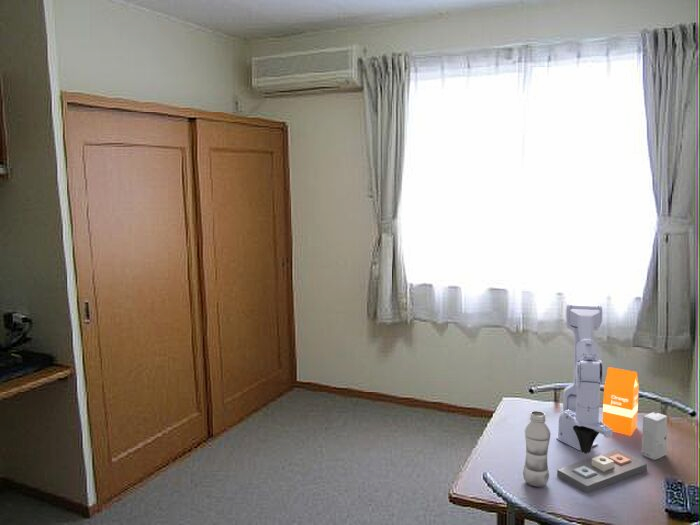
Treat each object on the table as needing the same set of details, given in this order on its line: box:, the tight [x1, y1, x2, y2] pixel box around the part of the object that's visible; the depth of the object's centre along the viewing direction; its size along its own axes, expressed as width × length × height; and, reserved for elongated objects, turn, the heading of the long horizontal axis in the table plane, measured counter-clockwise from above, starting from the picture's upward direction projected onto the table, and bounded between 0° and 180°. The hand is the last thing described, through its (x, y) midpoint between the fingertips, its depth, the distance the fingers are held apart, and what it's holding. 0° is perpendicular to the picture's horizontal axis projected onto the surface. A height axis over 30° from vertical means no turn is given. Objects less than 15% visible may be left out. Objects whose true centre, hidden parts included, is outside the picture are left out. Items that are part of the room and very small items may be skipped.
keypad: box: [556, 448, 648, 494], centre depth 161 cm, size 10×24×2 cm, turn 117°
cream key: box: [591, 454, 614, 471], centre depth 161 cm, size 4×4×2 cm
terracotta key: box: [609, 454, 630, 466], centre depth 164 cm, size 4×4×2 cm
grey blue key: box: [574, 466, 596, 479], centre depth 158 cm, size 4×4×2 cm
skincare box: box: [641, 411, 668, 461], centre depth 170 cm, size 6×4×12 cm
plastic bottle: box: [522, 410, 551, 488], centre depth 155 cm, size 6×7×20 cm
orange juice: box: [602, 366, 640, 437], centre depth 188 cm, size 8×9×20 cm
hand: (585, 451), depth 157 cm, fingers closed
